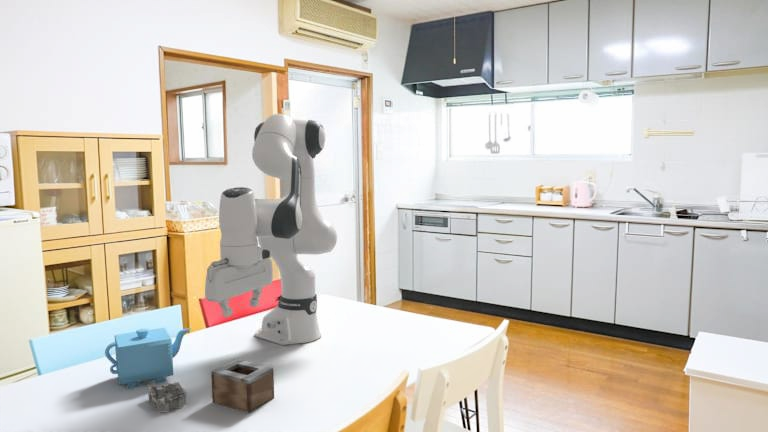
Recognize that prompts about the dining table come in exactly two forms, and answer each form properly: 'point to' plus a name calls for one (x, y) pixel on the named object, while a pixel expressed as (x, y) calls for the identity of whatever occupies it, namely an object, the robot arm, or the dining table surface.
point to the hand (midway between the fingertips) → (241, 310)
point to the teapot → (144, 355)
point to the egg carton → (167, 396)
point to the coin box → (242, 385)
